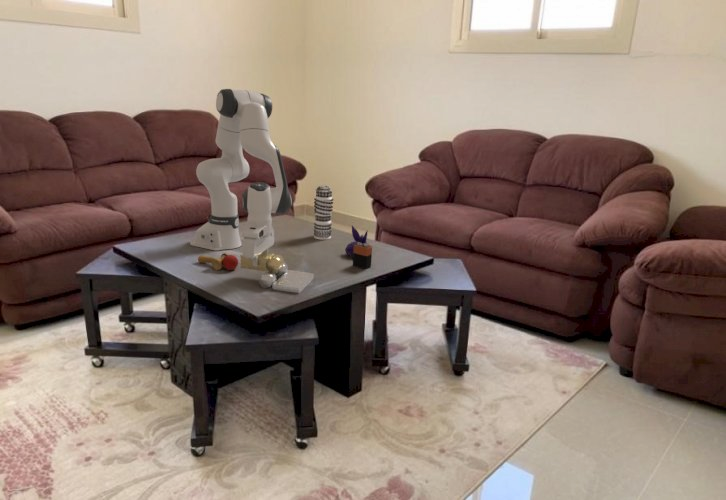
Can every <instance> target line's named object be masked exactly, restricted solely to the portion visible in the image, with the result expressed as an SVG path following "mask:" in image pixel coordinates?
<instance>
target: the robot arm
mask: <svg viewBox="0 0 726 500" xmlns="http://www.w3.org/2000/svg"><path fill="white" fill-rule="evenodd" d="M215 99H216V100H215V107H216V110H217V112H218V114H219V119H218V124H217V130H216V135H215V136H216V137H215V145H217V147H218V148H219V149H220V150H221V157H216V158H209V159H206V160H203V161H201V162H199V163H198V164H197V167H196V169H195V171H196V172H195V174H196V177H197V180H198V181H199V182H200V183H201V184H202V185H204V186H205V188H206V189H207V191H208V194H209V197H210V204H211V205H210V206H211V207H210V208H211V213H209V214H208V215H206V216H205V217H206V220H208V221H207V222H206V223H204V224H203V225H202V226H200V227H199V228H197V229H196V232H195V237H194V238H193V239H192V240H191V241H190V242H189V245H190V246H192V247H197V248H202V249H206V250H211V251H215V252H217V251H222V250H223V251H224V250H233V249H237V248H239V247H241V246H242V254H243V255H244V257H245V258H248V259H251V260H252V262H253V266H255V267H257V266H258V265H259V261H258V260H257V258H258V255H259V254H261V253H269V248H271V247H272V246H273V245H274V244H275V230H274V228H273V220H272V215H271V214H276V215H285V214H286V213H288V212H289V210H291V208H292V204H293V203H292V202H293V200H292V196H291V192H290V190H289V186H288V182H287V177H286V172H285V169H284V168H285V167H284V163H283V159H282V155H281V152H280V149H279V147H278V146H277V145H274V142H273V141H272V139H271V136H270V124H269V118H270V117H271V116H272V112H273V102H272V100H271V97H270V96H268V95H266V94H264V93H258V92H255V91H251V90H240V89H231V88H223V89H220V91H218V93H217V95H216V98H215ZM243 150H244V151H245V152H246V154H247V153H248V154H249V155H250V156H252V157H255V158H257V159H259V160H262V161H264V162H266V163H268V164H269V165H270V166H271V168H272V171H273V172H272V173H273V176H274V181H275V185H276V187H270V185H269V184H268V183H266V182H260V181H256V182H251V183H250V184H249V185H248V188H247V189H245V190H244V191H243V192H242V193H241V196H242V197H241V198H242V207H241V209H242V210H244V212H246V213H248V215H247V219H246V221H247V222H246V224H245V227H244V228H243V230H242V231H241V235H240V229H239V224H240V219H239V218H240V217H239V213H238V197H237V195H236V194H235V193H233V192H232V191H230V187H229V183H235V182H236V183H237V182H239V181H243V179H246V178H247V177H248V176H249V174H250V171H251V170H250V165H249V162H248V161H247V159H246V158H245V157H244V153H243V152H244V151H243ZM240 236H241V237H243V238H242V240H241V237H240Z"/></svg>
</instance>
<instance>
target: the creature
mask: <svg viewBox="0 0 726 500" xmlns="http://www.w3.org/2000/svg"><path fill="white" fill-rule="evenodd" d="M368 232H369V231H368V230H366V231H365V232H364V234H360V233H359V231H358V230H357V229H356V228H355V227H354V226H353V225H351V234H352V237H353V239H354V241H351V242H349V243H348V244H347V245H346V247H345V251H344V252H345V254H347V255H349V257H350V256H351V257H353V250H354V245H356V244H358V242H361V244H365V243H366V244H368V242H367V238H368Z"/></svg>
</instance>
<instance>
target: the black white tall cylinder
mask: <svg viewBox="0 0 726 500" xmlns="http://www.w3.org/2000/svg"><path fill="white" fill-rule="evenodd" d="M315 191H316V192H315V193H316V194H315V198H314V202H313V203H314V205H313V207H314V209H313V210H314V215H315V217H314V223H313V225H314V226H313V227H314V228H313V238H314V239H316V240H321V241H322V240H331V238H332V224H333V223H332V215H333V213H332V212H333V208H334V206H333V204H334V202H333V201H334V198H333V191H334V190H333V189H332V188H331V186H327V185H318V186H317V188H315Z"/></svg>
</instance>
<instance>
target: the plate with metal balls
mask: <svg viewBox="0 0 726 500" xmlns="http://www.w3.org/2000/svg"><path fill="white" fill-rule="evenodd" d="M314 275H315V274H314V273H312V272H306V271H299V270H291V269H289V266H288V264H287V263H286V262H285V261H284V265H283V266H282V267H281V268H279V269H278V270H277V271H276V272H270V271H268V272H266V271H265V273H263V274H262V275H261V276H260V277H259V279H258V283H259V285H260V287H262V288H264V289H269V288H271V286H272V290H275V291H283V292H288V293H295V294H300V293H301V292H302V291H303V290H304V289H305V288H306V287H307V286H308V285H309V283H311V281H313V280H314V277H315V276H314Z"/></svg>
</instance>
